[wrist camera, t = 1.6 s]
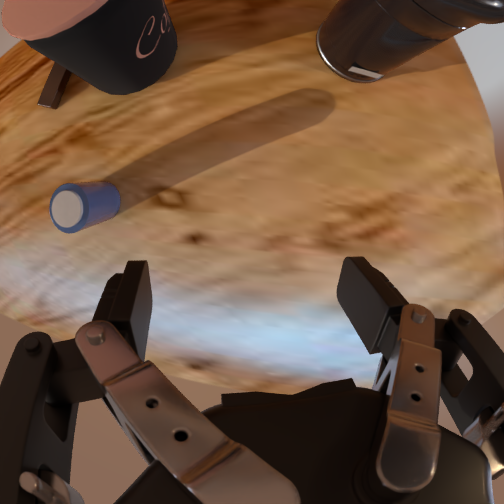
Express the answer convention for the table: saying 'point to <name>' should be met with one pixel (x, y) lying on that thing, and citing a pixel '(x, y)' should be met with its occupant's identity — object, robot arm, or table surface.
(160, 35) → the coffee jar
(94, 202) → the salt shaker
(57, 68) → the walnut stick
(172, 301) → the table surface
